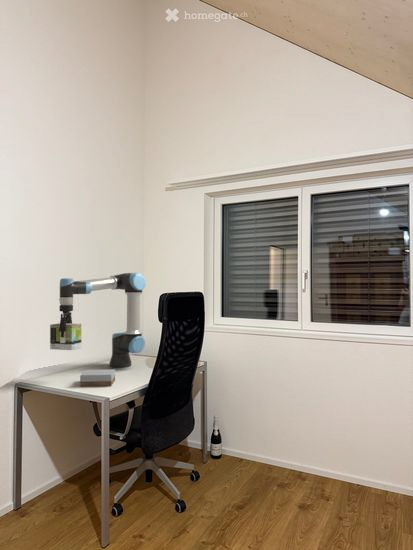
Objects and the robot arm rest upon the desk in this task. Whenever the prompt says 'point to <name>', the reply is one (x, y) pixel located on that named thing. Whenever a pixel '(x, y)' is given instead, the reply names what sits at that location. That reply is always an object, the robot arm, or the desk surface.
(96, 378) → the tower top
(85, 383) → the tower base
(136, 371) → the desk surface
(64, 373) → the desk surface
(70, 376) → the desk surface
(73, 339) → the tea box
